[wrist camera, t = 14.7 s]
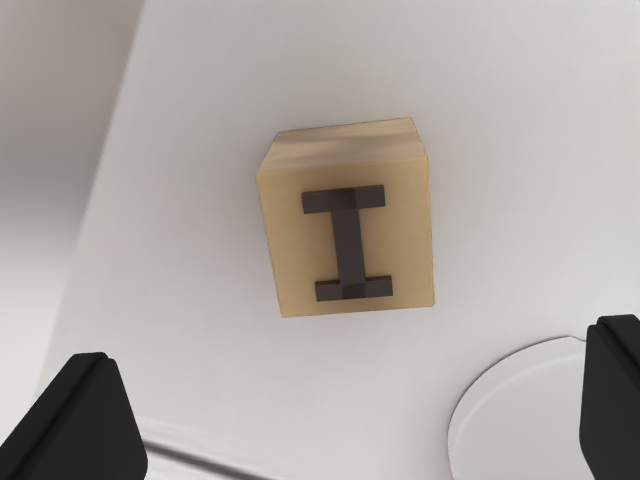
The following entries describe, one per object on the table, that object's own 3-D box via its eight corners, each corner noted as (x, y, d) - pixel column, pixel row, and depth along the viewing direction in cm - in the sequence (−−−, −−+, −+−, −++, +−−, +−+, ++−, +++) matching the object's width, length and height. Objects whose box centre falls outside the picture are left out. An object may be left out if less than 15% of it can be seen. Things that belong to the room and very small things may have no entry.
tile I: (296, 251, 23) (279, 324, 18) (277, 132, 21) (252, 176, 16) (419, 241, 22) (436, 312, 17) (412, 117, 20) (429, 158, 15)
